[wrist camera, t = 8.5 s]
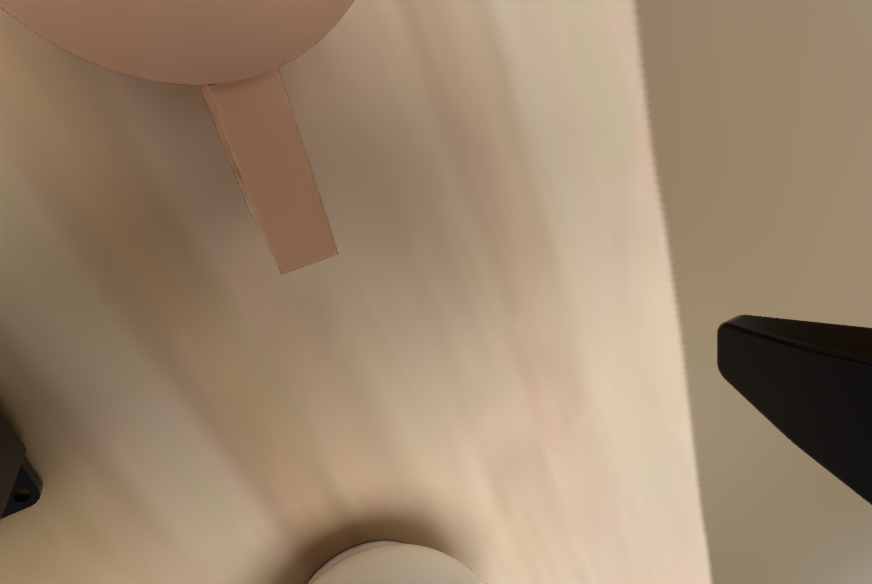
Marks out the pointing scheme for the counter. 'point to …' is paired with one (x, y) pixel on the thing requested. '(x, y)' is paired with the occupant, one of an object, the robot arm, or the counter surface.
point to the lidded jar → (393, 566)
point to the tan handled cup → (218, 88)
